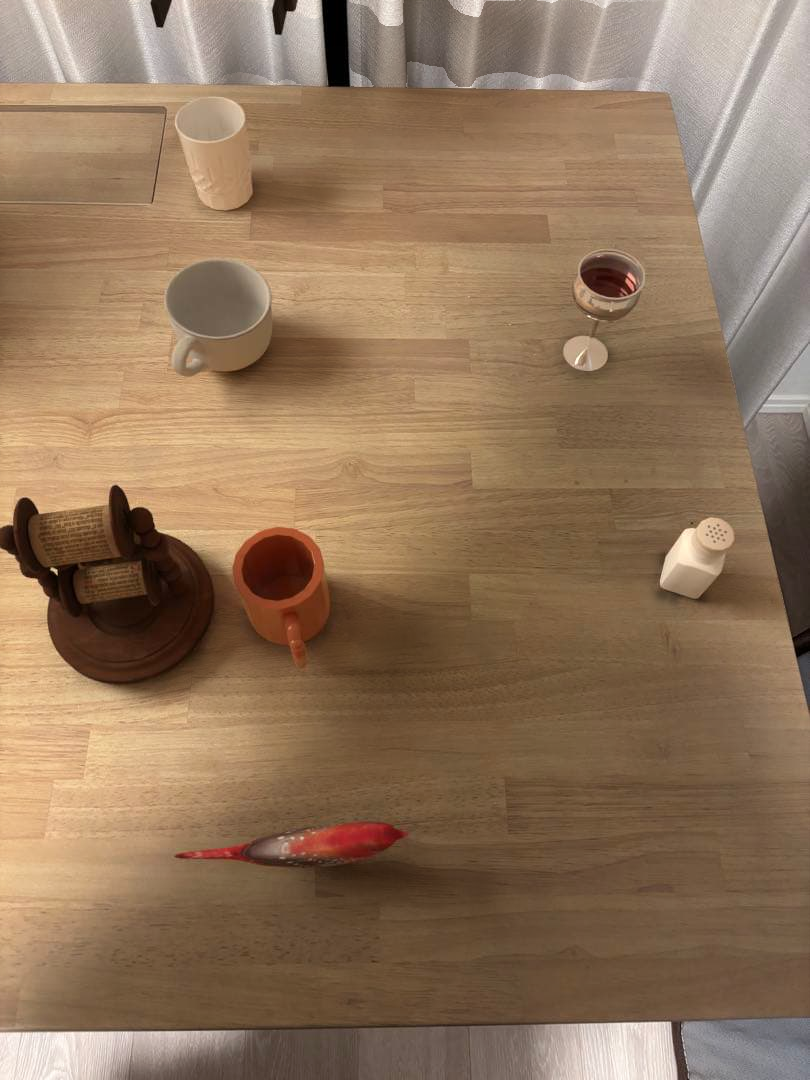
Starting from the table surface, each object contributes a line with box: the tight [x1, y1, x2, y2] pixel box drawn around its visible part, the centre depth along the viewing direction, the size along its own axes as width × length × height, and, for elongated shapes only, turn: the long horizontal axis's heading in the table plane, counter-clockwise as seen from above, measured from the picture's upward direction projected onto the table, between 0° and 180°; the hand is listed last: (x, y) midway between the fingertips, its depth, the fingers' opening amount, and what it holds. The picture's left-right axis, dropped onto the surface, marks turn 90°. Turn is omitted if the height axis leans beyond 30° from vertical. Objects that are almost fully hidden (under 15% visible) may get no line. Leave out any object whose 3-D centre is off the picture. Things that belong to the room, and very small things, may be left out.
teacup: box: [163, 257, 273, 378], centre depth 87 cm, size 14×11×8 cm
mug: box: [231, 526, 331, 669], centre depth 73 cm, size 11×8×9 cm
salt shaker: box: [659, 517, 735, 600], centre depth 75 cm, size 4×4×10 cm
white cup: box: [174, 95, 254, 211], centre depth 97 cm, size 8×8×10 cm
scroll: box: [0, 484, 216, 686], centre depth 68 cm, size 15×15×20 cm
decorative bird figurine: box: [173, 821, 410, 869], centre depth 63 cm, size 3×18×10 cm, turn 95°
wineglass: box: [562, 248, 646, 372], centre depth 86 cm, size 7×7×12 cm
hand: (216, 19), depth 92 cm, fingers open, 13 cm apart
